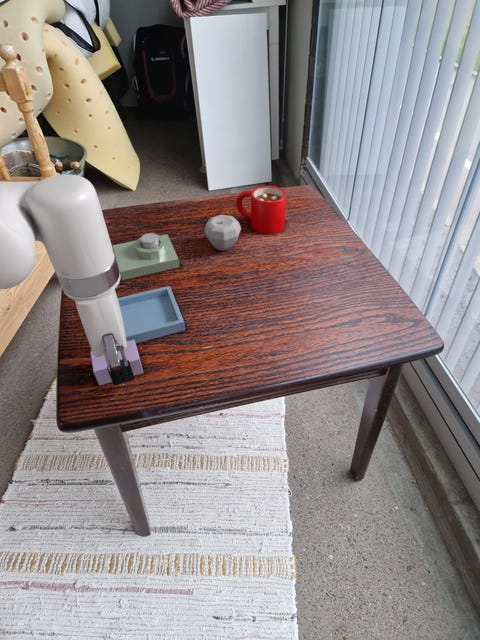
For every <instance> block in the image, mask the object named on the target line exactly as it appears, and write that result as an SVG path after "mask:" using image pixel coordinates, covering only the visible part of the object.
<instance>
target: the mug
mask: <svg viewBox="0 0 480 640" xmlns="http://www.w3.org/2000/svg"><path fill="white" fill-rule="evenodd" d="M245 198H250V212H249V211H247V210H246V209H245V207H244V206H243V200H244V199H245ZM286 204H287V192H286V191H285V190H284V189H283V188H281V187H278V186H275V185H262V186H258V187H255V188H254V189H253V190H252V189H245V190H242V191H241V192H240V193H239V194H238V195H237V197H236V199H235V206H236V209H237V211H238V213H239V214H240V215H241V216H242V217H243V218H245V219H247V220H250V227H251V229H252V230H253V231H255V232H257V233H259V234H265V235H269V234H270V235H272V234H276V233H279V232H281V231H282V230H283V229H284V227H285V221H286V206H287V205H286Z"/></svg>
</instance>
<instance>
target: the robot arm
mask: <svg viewBox="0 0 480 640" xmlns="http://www.w3.org/2000/svg"><path fill="white" fill-rule="evenodd" d="M36 242H41V243H42V244H43V246H44V248H45V251H46V253H47V256H48V258H49V260H50V263H51V266H52V267H53V270H54V272H55V275H56V278H57V280H58V282H59V284H60V287H61V289H62V291H63V293H64V294H65V296H67V297H68V298H69V299H72V300H74V302H75V306H76V310H77V313H78V316H79V319H80V322H81V324H82V328H83V330H84V333H85V336H86V338H87V341H88V344H89V346H90V351H92V353H93V355H94V356H95V357H100V356H103V354H104V356H105V360H106V363H107V370H108V372H109V375H110V377H111V380H112V382H111V383H112V385H113V386H118V385H122V384H126V383H129V382H132V381H134V380H135V379H136V378H135V376H134V374H133V371H132V368H131V365H130V362H129V360H128V361H127V359H126V355H125V352H124V350H125V348H126V347H127V342H126V335H125V330H124V324H123V319H122V314H121V310H120V306H119V302H118V298H119V297H118V295H117V292H116V291H117V290H116V288H117V287H118V286H119V284H120V282H121V280H122V279H121V275H120V272H119V268H118V264H117V261H116V257H115V253H114V250H113V244H112V242H111V238H110V234H109V231H108V227H107V225H106V221H105V218H104V214H103V210H102V206H101V203H100V199H99V197H98V194H97V190H96V188H95V186H94V185H93V184H92V182H91V181H90V180H88V179H87V178H85V177H83V176H81V175H77V174H69V173H68V174H66V173H65V174H57V175H53V176H48V177H46V178H42V179H41V180H33V181H27V180H26V181H25V180H24V181H10V180H9V181H5V180H4V181H3V180H1V181H0V290H7V289H11V288H14V287H16V286H19V285H20V284H22V283H23V282H24V281H25V280H27V279H28V277H29V276H30V275H31V273H32V270H33V269H34V267H35V264H36V250H37V249H36V247H37V246H36ZM115 341H116V343H117V344H119V346H116V345H115ZM105 347H106V348H105ZM123 348H124V349H123ZM117 351H120V353H121V356H122V360H120V359H119V356H118V353H117Z"/></svg>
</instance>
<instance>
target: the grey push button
mask: <svg viewBox="0 0 480 640" xmlns="http://www.w3.org/2000/svg"><path fill="white" fill-rule="evenodd" d="M158 235H159V234H156V233H155V232H149V233H144V234H142V235H141V237H140V238H141V244H142V247H143V248H144V249H153V248H156V247H158V246H159V238H158Z"/></svg>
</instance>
